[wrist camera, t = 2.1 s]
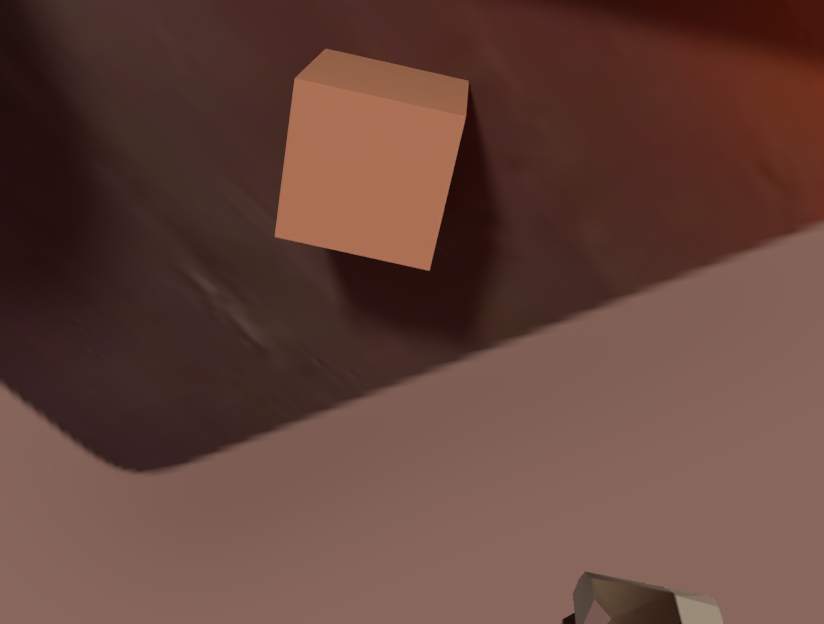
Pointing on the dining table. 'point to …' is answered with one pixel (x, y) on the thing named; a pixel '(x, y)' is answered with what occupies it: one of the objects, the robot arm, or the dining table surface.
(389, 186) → the terracotta block
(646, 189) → the dining table surface
